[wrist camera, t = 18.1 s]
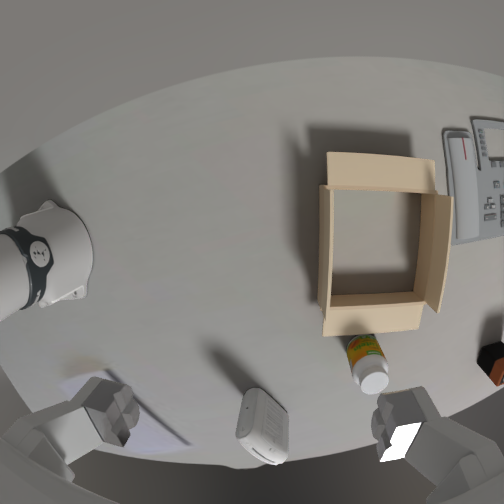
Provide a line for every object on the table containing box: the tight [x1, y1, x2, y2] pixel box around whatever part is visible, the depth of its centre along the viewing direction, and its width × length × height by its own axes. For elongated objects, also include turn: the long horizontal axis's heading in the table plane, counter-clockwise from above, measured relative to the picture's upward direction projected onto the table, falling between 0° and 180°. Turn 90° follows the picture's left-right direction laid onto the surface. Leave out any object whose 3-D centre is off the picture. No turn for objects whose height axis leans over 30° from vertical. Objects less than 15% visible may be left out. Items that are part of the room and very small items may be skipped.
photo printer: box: [235, 388, 289, 465], centre depth 39 cm, size 10×4×12 cm, turn 39°
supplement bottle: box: [347, 334, 389, 394], centre depth 36 cm, size 5×5×10 cm
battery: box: [477, 341, 504, 386], centre depth 34 cm, size 4×7×10 cm, turn 94°
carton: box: [317, 152, 454, 337], centre depth 33 cm, size 16×24×8 cm, turn 2°
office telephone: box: [443, 119, 504, 245], centre depth 31 cm, size 23×3×20 cm
